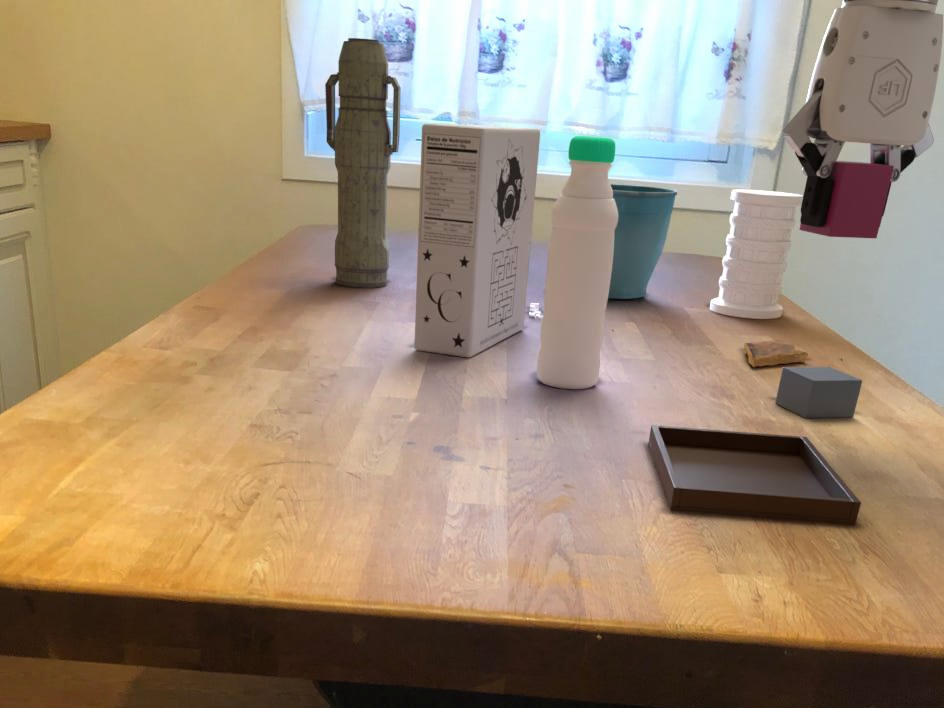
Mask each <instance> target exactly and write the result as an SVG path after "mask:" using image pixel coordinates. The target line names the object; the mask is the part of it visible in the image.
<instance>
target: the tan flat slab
mask: <svg viewBox="0 0 944 708" xmlns="http://www.w3.org/2000/svg"><path fill="white" fill-rule="evenodd" d="M743 347H744V351H745V352H746V355H747V357H748V360H747V361H748V364H749V365H751V367H753V368H756V367H764V366H777V365H780V364H783V365H786V364H790V363H805V362H806V361H807V359H808V357H809V353H808V352H806V351H805V350H804V349H802V348H801V347H800V346H797V345H795V344H792V343H791V344H790V343H788V342H784V341H780V340H777V339H774V340H773V339H769V340H761V341H752V342H745V343H744V344H743Z"/></svg>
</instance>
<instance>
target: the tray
mask: <svg viewBox="0 0 944 708" xmlns="http://www.w3.org/2000/svg"><path fill="white" fill-rule="evenodd" d="M649 430H650V431H649V438H648V443H647V445H648V449H649V451H650V454H651V457H652V460H653V463H654V466H655V469H656V473H657V476H658V479H659V481H660V485H661V488H662V490H663V493H664V497H665V499H666V500H665V501H666V503H667V505H668V508H669V511H671V512H672V511H673V512H683V513H694V514H695V513H697V514H708V515H719V516H720V515H721V516H734V517H745V518H758V519H770V520H773V519H774V520H784V521H796V522H797V521H798V522H807V523H820V524H821V523H822V524H834V525H848V526H856V525H857V519H858V516H859V512H860V508H861V505H862V502H861V501H860V499H859V498H858V497H857V495H856V494H855V493H854V492H853V491H852V490H851V488H850V487H849V485H847V484H846V482H845V481H844V480H843V479H842V478H841V477H840V475H839V474H838V473H837V472H836V470H834V468H833V467H832V466H831V465H830V463H829V462H828V461H827V460H826V458H825V457H824V456H823V454H821V453H820V451H819V450H818V449H817V448H816V446H815V445H814V444H813V443H812V442H811V440H810V439H809V438H808V437H807V436H798V435H786V434H785V435H784V434H773V433H761V432H760V433H758V432H747V431H733V430H721V429H709V428H708V429H707V428H693V427H681V426H669V425H657V424H655V425H654V424H652V425H650V429H649Z"/></svg>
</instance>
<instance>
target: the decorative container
mask: <svg viewBox="0 0 944 708" xmlns="http://www.w3.org/2000/svg"><path fill="white" fill-rule="evenodd" d="M803 195H804V194H800V193H799V194H798V193H792V192H785V191H775V190H774V191H773V190H761V189H760V190H759V189H742V188H741V189H739V188H737V189H732V190H731V194H730V200H731V201H733V202H734V205H733V210H732V213H730V216H729V224H730V226H729V227H730V228H729V232H728V233H729V234H727V236H726V238H725V245H726V251H725V254H724V256H723V257H722V259H721V263H722V264H721V266H722V267H723V268H722V273H721V274H722V275H721V276H720V277H719V280H718V287H719V291H718V297H715V298H713V299H711V300H710V304H709V310H710V311H712V312H714V313H717V314H719V315H725V316H730V317H735V318H742V319H751V320H752V319H753V320H754V319H756V320H772V319H773V320H774V319H778V318H781V317H782V314H783V309H784V308H783V306H782V305H780V304H779V303H778V301H779V295H780V293H782V290H783V282H782V281H783V276H784V273H785V272H786V270H787V267H788V263H787V256H788V252H789V251H790V249H791V247H792V240H791V237H792V231H793V229H795V226H796V218H795V217H796V216H795V215H796V211H797V207H799V206H801V205H802V200H803Z"/></svg>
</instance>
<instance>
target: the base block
mask: <svg viewBox="0 0 944 708" xmlns="http://www.w3.org/2000/svg"><path fill="white" fill-rule="evenodd" d="M862 385H863V379H860V378H858V377H856V376H853V375H851V374H848V373H846V372H843V371H840V370H839V369H837V368H833V367H831V366H783V367H782V369H781V374H780V379H779V383H778V388H777V393H776V398H775V404H776V405H778V406H780V407H782V408H785V409H786V410H788V411H790V412H792V413H794V414H797V415H799V416H801V417H803V418H804V419H830V418H831V419H833V418H854V416H855V412H856V408H857V404H858V400H859V397H860V396H859V395H860V393H861V388H862Z"/></svg>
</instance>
